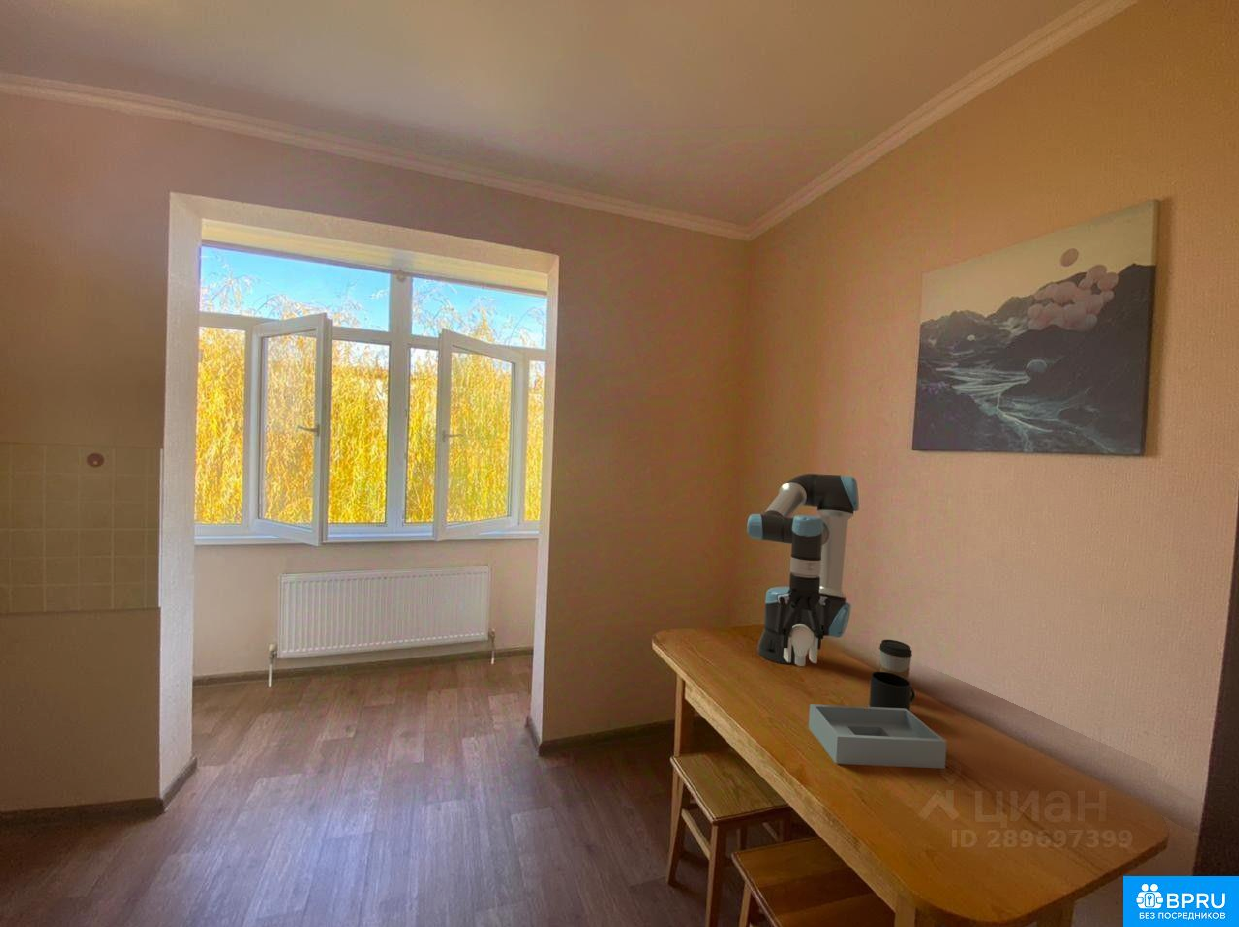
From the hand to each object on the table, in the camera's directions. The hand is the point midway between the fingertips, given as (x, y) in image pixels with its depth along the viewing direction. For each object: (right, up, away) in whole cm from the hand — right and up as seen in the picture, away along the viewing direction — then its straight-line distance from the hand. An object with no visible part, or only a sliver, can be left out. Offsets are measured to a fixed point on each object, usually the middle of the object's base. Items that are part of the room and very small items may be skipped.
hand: (799, 660), depth 125 cm
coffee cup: (+33, -16, +14) cm, 39 cm away
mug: (+27, -16, +3) cm, 31 cm away
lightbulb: (0, -2, 0) cm, 2 cm away
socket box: (+12, -15, -14) cm, 23 cm away
